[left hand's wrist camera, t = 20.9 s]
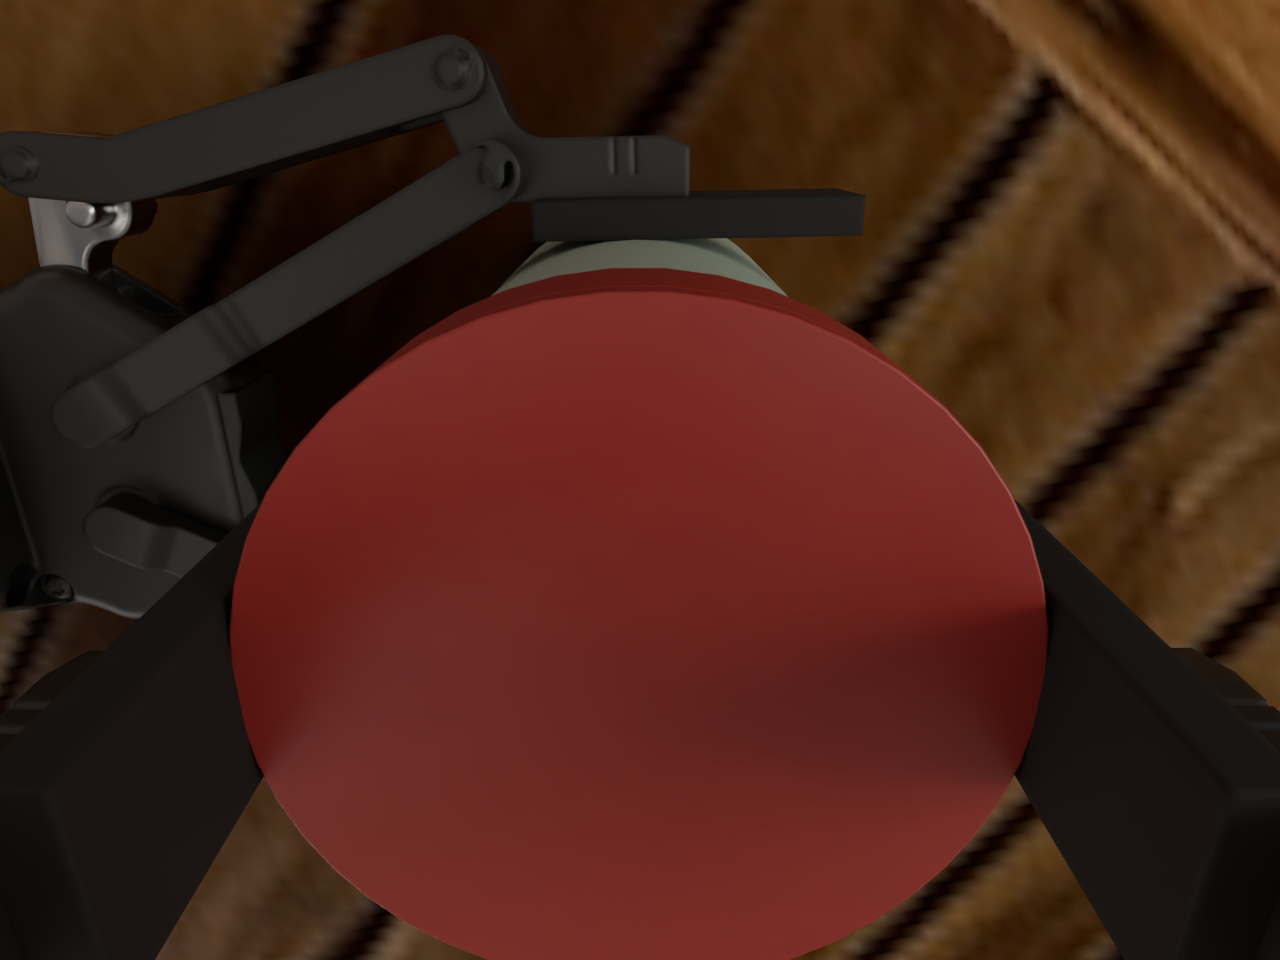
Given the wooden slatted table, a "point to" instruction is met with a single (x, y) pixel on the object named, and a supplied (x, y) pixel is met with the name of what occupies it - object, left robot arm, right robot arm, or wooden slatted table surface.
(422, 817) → the lid
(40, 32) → the wooden slatted table surface
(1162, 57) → the wooden slatted table surface
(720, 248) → the jar
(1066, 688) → the left robot arm
